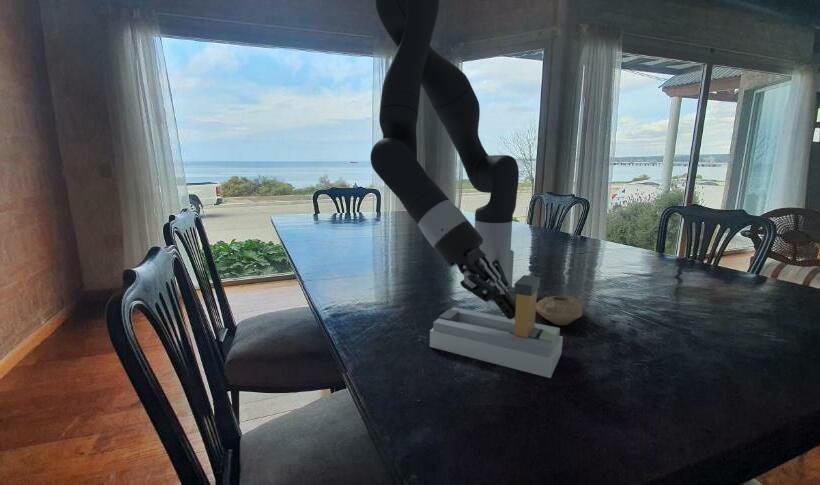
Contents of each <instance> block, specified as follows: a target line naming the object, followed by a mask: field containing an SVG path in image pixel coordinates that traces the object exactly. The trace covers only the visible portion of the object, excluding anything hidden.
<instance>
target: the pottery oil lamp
mask: <svg viewBox="0 0 820 485" xmlns="http://www.w3.org/2000/svg"><path fill="white" fill-rule="evenodd" d="M585 303H586V302H585V301H584V297H582V296H579V295H575V294H565V295H553V296H545V297H544V298H541V299H540V300H538V302H537V301H536V312H537V314H539V315H540V316H541V317H543V318H544V319H545V320H548V321H549V322H550V323H551V324H554V325H558V326H567V325H570V324H571V323H572V322H574V321H576V320H577V319H579V318H581V317H582V316H583V311H582V310H583V307H584V306H585Z"/></svg>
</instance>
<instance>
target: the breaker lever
mask: <svg viewBox="0 0 820 485" xmlns="http://www.w3.org/2000/svg"><path fill="white" fill-rule="evenodd" d="M540 285H541V277H539V276H533V275H525V274H524V275H522V276H521V277H520V278H519V279H517V281H516V282H514V289H513V290H514V292H513V293H514V294H515V296H516V297H515V303H516V312H515V317H514V319H515V325H514V327H513V328H512V329H511V330H510V331H509V334H514V335H517V336H522V337H526V338H532V339H537V340H538V339H539V336H540V329H536V328H534V327H535V323H536V312H537V311H536V303H537V299H538V298H537V296H538V290H539V289H540Z"/></svg>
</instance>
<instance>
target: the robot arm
mask: <svg viewBox="0 0 820 485" xmlns="http://www.w3.org/2000/svg"><path fill="white" fill-rule="evenodd" d="M374 4H375V8H376V11H377V15H378V17H379V20H380V21H381V23H382V25H383V27H384V30H386V32H387V33H388V35H389V36H390V38H391V39H392V41H393V43H394V44H395V46H396V47H397V49H396V52H395V54H394V56H393V58H392V60H391V63H390V65H389V67H388V70H387V72H386V75H385V76H384V80H383V83H382V89H381V94H380V95H381V96H380V104H379V105H380V106H379V119H378V120H379V125H380V129H381V132H382V139H380V140H378V141H377V142H376V143H375V144H373V147H372V148H371V151H370V164H371V167H372V169H373V170H374V172H375V173H376V174H377V175H378V177H379V178H380V180H382V182H383V184H385V185H386V186H387V187H388V188H389V189H390V191H392V193H393V194H394V195H395V196H396V197H397V199H398V200H399V201H400V202H401V204H402V205H403V207H404V209H405V211H407V214H409V216H410V217H411V218H412V220H413V221H414V223H416V225H417V226H418V227H419V229H420V230H421V231H420V232H421V233H422V234H423V236H424V238H426V240H427V241H428V242H429V244H430V245H431V247H432V249H434V250H435V251H436V253H437V254H438V256H439V257H440V258H441V259H442V261H443V262H444V263H445V265H446V266H448V267H449V268H452V267H455V266H457V268H458V270H459V272H460V273H461V274H462V275H463V279H462V280H461V281H460V282H459V284H460V286H461V287H462V288H464V289H466V291H468V292H470V293H471V294H473V295H474V296H476V297H478V298H479V299H480V300H482V301H483V302H486V303H488V302H489V301H490V302H491V303H495V304H496V306H497V307H498V308H499V309H500V311H501V312H502V314H504V315H505V316H504V317H506V318H508V319H515V312H516V300H514V299H513V297H512V296H511V295H510V294H509V293H508V292H509V290H508V289H510V288H513V275H514V260H515V258H514V257H515V255H514V254H515V252H514V250H512V235H513V234H512V233H513V230H512V229H513V216H514V213H515V211H516V207H517V199H518V198H517V197H518V189H519V188H518V187H519V179H520V171H519V165H518V163H517V160H516V159H515V157H513V156H512V155H508V154H501V155H499V154H496V155H492V154H491V155H489V154H488V153H487V151H486V150H485V148H484V146H483V144H482V142H481V140H480V136H479V126H480V125H479V124H480V118H481V117H480V116H481V112H480V111H481V110H480V109H481V107H480V102H479V99H478V97H477V95H476V92H475V90H474V89H473V86H472V85H471V83H470V82H471V81H469V78H468V77H467V75H466V74H465V73H464V72H463V71H462V70H461V69H460V68H458V67H457V66H456V65H455V64H453V63H452V62H450V61H449V60H448V59H446V58H445V57H443V56H442V55H441V54H439V53H438V52H436V50H435V49H433V48H432V46H431V41H432V38H433V33H434V29H435V26H436V22H437V19H438V14H439V9H440V0H375V2H374ZM421 87H422V89H423V90H424V92H425V94H426V95H427V97H428V99H429V101H430V104H431V106H432V108H433V109H434V111H435V113H436V116H437V117H438V119H439V120H440V122H441V123H442V125H443V127H444V129H445V130H446V132H447V134H448V136H449V138H450V140H451V142H452V144H453V146H454V148H455V150H456V152H457V154H458V156H459V159H460V161H461V164H462V166H463V168H464V171H465V173H466V175H467V178H468V180H469V182H470V184H471V185H472V187H473V188H474V189H475V190H476V191H478V192H480V193H483V194H486V193H487V194H490V195H489V201H488V203H486V204H485V205H482V206H480V207H477V208H476V209H475V211H474V225H473V224H472V223H471V222H470V221H469V220H468V218H467V217H466V216H465V215H464V213H462V211H461V210H460V209H459V208H458V206H456V205H455V204H454V203H453V202H452V201H451V200H450V199H449V198H448V196H447V195H446V194H445V193H444V191H443V190H442V189H441V188H440V187H439V185H438V184H437V183H436V182H435V181H434V180H433V179H432V178H431V177H430V176H429V175H428V174H427V172H426V171H425V169H424V167H423V166H422V165H421V164H420V162H419V160H418V144H417V142H418V140H417V138H418V137H417V123H418V116H419V105H420V94H421Z"/></svg>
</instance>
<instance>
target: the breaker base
mask: <svg viewBox="0 0 820 485" xmlns="http://www.w3.org/2000/svg"><path fill="white" fill-rule="evenodd" d="M432 325H433V327H432V328H431V329H430V330H429V347H430V348H433V349H437V350H441V351H445V352H449V353H452V354H456V355H461V356H464V357H469V358H471V359H476V360H480V361H484V362H487V363H490V364H494V365H495V364H496V365H498V366H502V367H507V368H509V369H514V370H518V371H521V372H526V373H529V374H533V375H538V376H541V377H544V378H549V379H551V378H552V376H553V373H554V371H555V369H556V367H557V364H558V363H559V360H560V357H561V355H562V352H563V351H562V349H563V340H564V339H563V338H564V337H563V336H561V335H560V332H561V328H560V327H556V326H550V325H546V324H542V323H536V322H535V327H534V328H536V329H540V336H539V339H538V340H537V339H532V338H526V337H522V336H517V335H514V334H509V331H510V330H511V329H512V328H513V327H514V325H515V318H512V319H508V318H507V317H506V316H500V315H495V314H492V313H491V314H489V313H485V312H481V311H475V310H470V309H465V308H461V307H454V306H453V307H452V308H449V309H447V310H446V311H445V312H443V313H441V314H440V315H439V316H438V318H437V319H436V320H434V321H433V324H432Z"/></svg>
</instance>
